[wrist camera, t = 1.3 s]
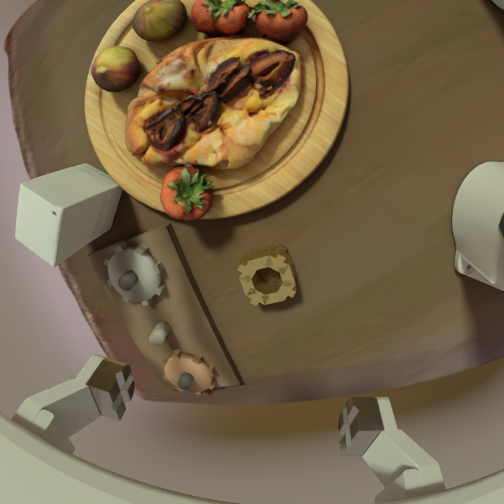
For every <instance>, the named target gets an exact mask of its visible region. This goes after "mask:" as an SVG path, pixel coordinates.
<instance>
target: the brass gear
mask: <svg viewBox="0 0 504 504" xmlns="http://www.w3.org/2000/svg"><path fill="white" fill-rule="evenodd" d="M266 267H270V268H272V269H274V270H276V271H278V272H280V275H281V276H280V278H279V279H278V280H274V281H270V282H266V281H264V280H262V279H260V278H258V276H257V273H256V270H258V269H262V268H266ZM238 271H240V272H241V274H240V277H239V279H240V282H241V284H242V287H243V289H244V292H245V294H246V296H247V297H249V298H251V300H250V303H252V304H254V305H256V306H257V304H258V302H260V303H262V304H264V305H267V304H271V303H275V302H280V301H284V300H285V299H286V298H287V296H290V297H293V296H294V294H295V293H296V279H295V270H294V267H293V264H292V260H291V257H290V254H288V253H286V247H285V246H283V245H281V244H279V246H278V248H277V247H275V246H273V245H269V246H266V247H262V248H258V249H254V250H252V251H251V253H250V255H247V254H246V253H245V254H244V256H243V257H242V259H241V262H240V265H239V267H238Z"/></svg>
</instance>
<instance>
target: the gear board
mask: <svg viewBox="0 0 504 504" xmlns="http://www.w3.org/2000/svg"><path fill="white" fill-rule="evenodd" d="M88 256H89V258H90V260H91V262H92V264H93V267H94V269H95V271H96V273H97V275H98V277H99V279H100V281H101V283H102V285H103V287H104V288H105V290H106V292H107V294H108V296H109V298H110V300H111V302H112V303H113V305H114V307H115V309H116V311H117V313H118V314H119V316H120V318H121V320H122V321H123V323H124V325H125V326H126V328H127V330H128V332H129V333H130V335H131V337H132V338H133V340H134V341H135V343H136V345H137V346H138V348H139V350H140V351H141V353H142V354H143V356H144V357H145V359H146V360H147V362H148V364H149V365H150V367H151V368H152V370H153V371H154V373H155V374H156V376H157V377H158V378H159V380H160V381H161V383H162V384H163V386H164V387H165V388H166V390H167V391H169V390H179V391H181V392H182V391H183V390H185V391H188V392H195V394H196V395H202V392H203V391H205V390H206V389H208V388H209V389H211V390H212V389H213V388H215V387H225V386H234V385H240V384H241V379H242V378H241V376H240V374H239V372H238V370H237V368H236V366H235V364H234V362H233V360H232V358H231V356H230V354H229V352H228V350H227V348H226V346H225V344H224V342H223V340H222V338H221V336H220V334H219V332H218V329H217V327H216V325H215V323H214V321H213V319H212V317H211V315H210V313H209V310H208V308H207V306H206V304H205V302H204V300H203V297H202V295H201V293H200V291H199V289H198V286H197V284H196V282H195V280H194V277H193V275H192V273H191V270H190V268H189V266H188V264H187V261H186V259H185V257H184V254H183V252H182V250H181V247H180V245H179V242H178V240H177V238H176V235H175V233H174V230H173V228H172V226H171V223H169V224H166V225H163V226H161V227H158V228H155V229H152V230H149V231H146V232H144V233H141V234H138V235H135V236H132V237H130V238H127V239H124V240H122V241H119V242H116V243H114V244H111V245H108V246H106V247H103V248H100V249H98V250H95V251H93V252H92V253H90V254H89V255H88Z"/></svg>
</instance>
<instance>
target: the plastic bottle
mask: <svg viewBox="0 0 504 504" xmlns="http://www.w3.org/2000/svg"><path fill="white" fill-rule="evenodd" d="M491 1H492V2H493V3H494V4H496V5H497V6H498V7H499V8H501V9H503V10H504V0H491Z"/></svg>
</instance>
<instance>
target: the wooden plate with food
mask: <svg viewBox="0 0 504 504" xmlns="http://www.w3.org/2000/svg"><path fill="white" fill-rule="evenodd" d="M349 86H350V82H349V70H348V64H347V60H346V57H345V53H344V49H343V47H342V44H341V42H340V39H339V37H338V35H337V33H336V31H335V29H334V27H333V26H332V24H331V23H330V21H329V20H328V18H327V17H326V16H325V14H324V13H323V12H322V11H321V10H320V9H319V8H318V7H317V6H316V5H315V4H314V3H313V2H312V1H311V0H136V1H135V2H133V3H132V4H131V5H130V6H129V7H128V8H127V9H126V10H125V11H124V12H123V13H122V14H121V15H120V16H119V17H118V18H117V19H116V20H115V22H114V23H113V24H112V25H111V27H110V28H109V30H108V31H107V33H106V34H105V36H104V38H103V39H102V41H101V43H100V45H99V47H98V49H97V51H96V53H95V55H94V58H93V61H92V64H91V67H90V70H89V74H88V78H87V84H86V92H85V117H86V124H87V128H88V132H89V136H90V140H91V142H92V145H93V147H94V150H95V152H96V155H97V156H98V158H99V160H100V162H101V164H102V165H103V167H104V168H105V169H106V171H107V172H108V174H109V175H110V176H111V177H112V179H113V180H114V181H115V182H116V183H117V184H118V185H119V186H120V187H121V188H122V189H123V190H125V191H126V192H127V193H128V194H130V195H131V196H132V197H134V198H135V199H136V200H138V201H140V202H142V203H143V204H145V205H147V206H149V207H151V208H153V209H156V210H158V211H161V212H164V213H166V214H167V215H169V216H170V217H172V218H174V219H181V220H186V221H192V220H198V219H222V218H229V217H234V216H239V215H243V214H246V213H249V212H252V211H255V210H258V209H260V208H263V207H265V206H268V205H270V204H272V203H274V202H276V201H277V200H279V199H281V198H283V197H284V196H286V195H287V194H288V193H290V192H291V191H293V190H294V189H295V188H297V187H298V186H299V185H301V184H302V183H303V182H304V181H305V180H306V179H307V178H308V177H309V176H310V175H311V174H313V172H314V171H315V170H316V169H317V168H318V167H319V165H320V164H321V163H322V162H323V160H324V159H325V158H326V157H327V155H328V153H329V152H330V150H331V149H332V147H333V145H334V143H335V141H336V139H337V136H338V134H339V132H340V130H341V128H342V124H343V121H344V117H345V114H346V110H347V104H348V97H349Z"/></svg>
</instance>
